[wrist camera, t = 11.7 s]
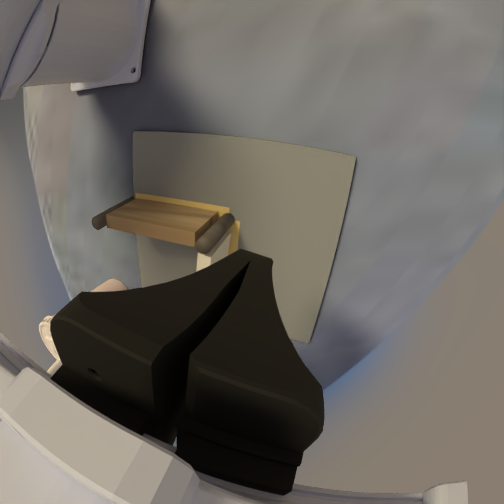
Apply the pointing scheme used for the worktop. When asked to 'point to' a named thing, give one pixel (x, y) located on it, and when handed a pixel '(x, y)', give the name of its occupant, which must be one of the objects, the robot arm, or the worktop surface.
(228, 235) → the fence panel
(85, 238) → the worktop surface
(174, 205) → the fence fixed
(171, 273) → the mat
